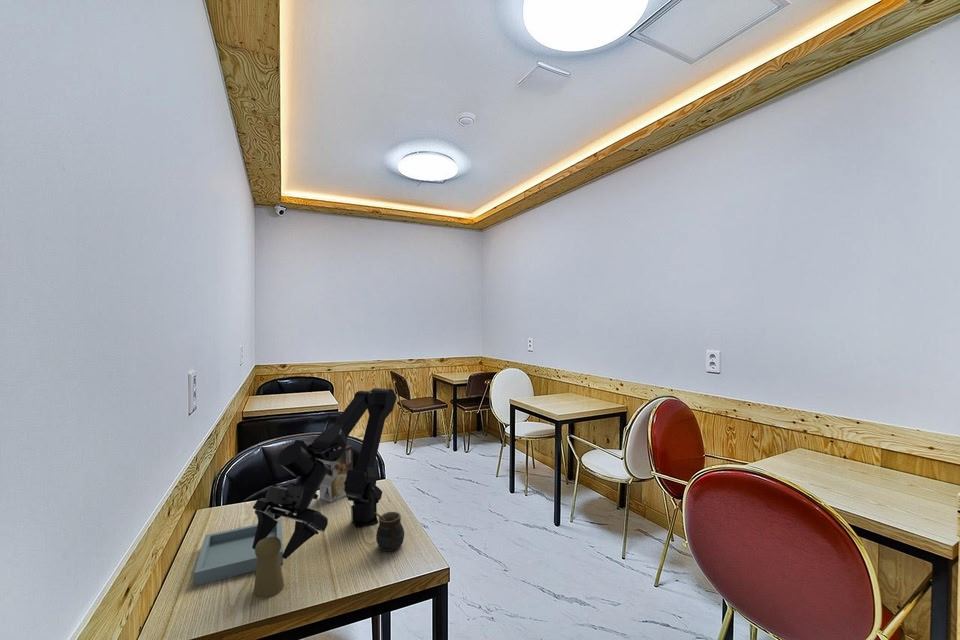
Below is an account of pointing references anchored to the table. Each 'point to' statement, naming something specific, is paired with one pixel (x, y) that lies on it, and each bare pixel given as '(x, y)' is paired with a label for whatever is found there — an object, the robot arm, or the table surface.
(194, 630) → the table surface
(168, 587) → the table surface
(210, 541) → the slate tray
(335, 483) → the coffee box
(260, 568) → the cork
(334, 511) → the table surface
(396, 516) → the mate gourd
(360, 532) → the table surface
